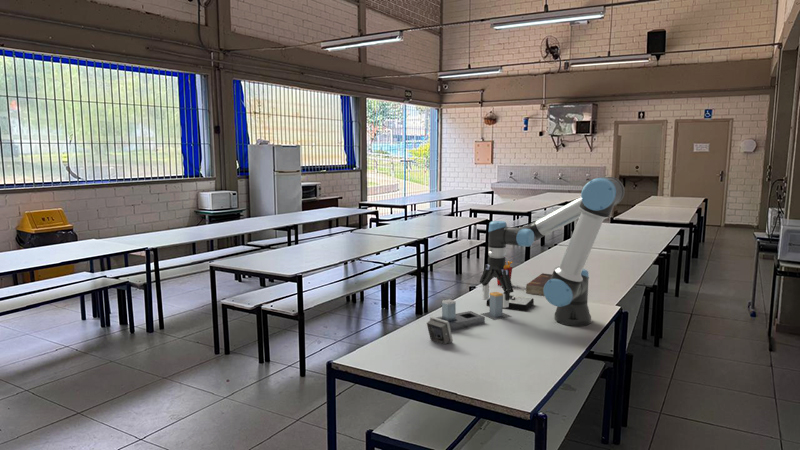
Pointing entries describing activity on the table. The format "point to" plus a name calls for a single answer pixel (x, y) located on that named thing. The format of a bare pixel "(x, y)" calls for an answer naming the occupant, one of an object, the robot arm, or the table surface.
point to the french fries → (506, 267)
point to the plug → (496, 304)
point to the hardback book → (538, 284)
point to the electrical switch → (439, 330)
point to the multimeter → (518, 303)
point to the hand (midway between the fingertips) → (495, 303)
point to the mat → (495, 317)
